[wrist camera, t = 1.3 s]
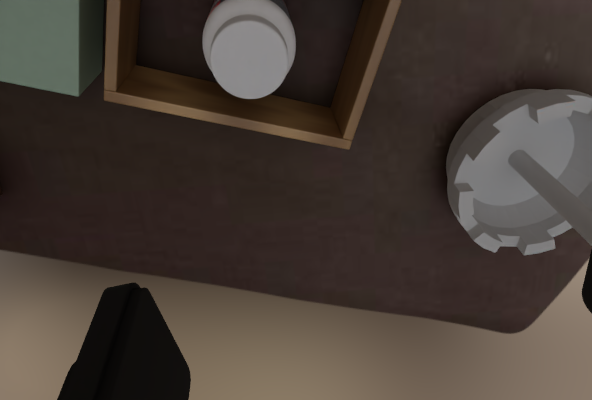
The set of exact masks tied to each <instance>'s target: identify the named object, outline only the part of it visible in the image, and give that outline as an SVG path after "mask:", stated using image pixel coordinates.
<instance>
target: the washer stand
mask: <svg viewBox="0 0 592 400" xmlns="http://www.w3.org/2000/svg"><path fill="white" fill-rule="evenodd" d="M103 17H104V0H0V81H3V82H8V83H13V84H18V85H23V86H28V87H33V88H38V89H43V90H48V91H53V92H58V93H63V94H68V95H73V96H80V95H81V93H82V92H83V91H84V90H85V89H86V88H87V87H88V86H89V85H90V84H91V83H92V81H93V80H94V79H95V78H96V77H97V76H98V75H99V74H100V73H101V72H102V52H103Z"/></svg>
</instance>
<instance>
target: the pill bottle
mask: <svg viewBox="0 0 592 400" xmlns="http://www.w3.org/2000/svg"><path fill="white" fill-rule="evenodd" d="M202 45H203V52H204V56H205V60H206V62H207V64H208V66H209V68H210V70H211V71H212V73H213V75H214V77H215V79H216V80H217V82H218V83H219V84H220V86H221V87H222V88H223V89H224V90H226V91H227V92H229V93H230V94H232V95H234V96H236V97H240V98H244V99H257V98H262V97H265V96H267V95H269V94H271V93H272V92H274V91H275V90H276V89H277V88H278V87H279V86H280V85H281V83H282V82H283V80H284V78H285V76H286V75H287V73H288V72H289V70H290V68H291V66H292V64H293V61H294V57H295V52H296V39H295V32H294V28H293V25H292V22H291V19H290V16H289V12H288V9H287V6H286V4H285V2H284V1H283V0H215V1H214V3H213V5H212V7H211V10H210V13H209V16H208V18H207V20H206V23H205V26H204V30H203V36H202Z"/></svg>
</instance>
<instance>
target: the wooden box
mask: <svg viewBox="0 0 592 400" xmlns="http://www.w3.org/2000/svg"><path fill="white" fill-rule="evenodd" d="M401 1H402V0H364V1H363V4H362V7H361V11H360V14H359V17H358V20H357V23H356V27H355V30H354V33H353V36H352V39H351V43H350V46H349V49H348V52H347V55H346V59H345V62H344V65H343V68H342V72H341V75H340V78H339V81H338V84H337V88H336V91H335V94H334V97H333V100H332V104H331V108H329V107H325V106H320V105H316V104H311V103H306V102H302V101H297V100H293V99H288V98H284V97H279V96H275V95H270V94H269V95H267V96H265V97H262V98H257V99H244V98H240V97H236V96H234V95H232V94H230V93H229V92H227V91H226V90H224V89H223V88H222V87H221V86H220V84H219V83H215V82H211V81H206V80H202V79H197V78H193V77H188V76H183V75H179V74H174V73H170V72H165V71H161V70H156V69H152V68H147V67H142V66H138V65H136V61H137V46H138V32H139V17H140V3H141V0H107V12H106V43H105V73H104V89H105V90H104V100H105V101H109V102H114V103H119V104H124V105H129V106H134V107H139V108H144V109H149V110H154V111H159V112H164V113H168V114H173V115H178V116H183V117H188V118H193V119H198V120H203V121H208V122H213V123H218V124H223V125H228V126H233V127H238V128H243V129H248V130H253V131H258V132H263V133H268V134H273V135H278V136H283V137H288V138H293V139H298V140H303V141H308V142H313V143H318V144H323V145H328V146H333V147H338V148H343V149H348V150H349V149H350V146H351V143H352V140H353V137H354V134H355V132H356V129H357V126H358V123H359V120H360V117H361V115H362V112H363V109H364V106H365V103H366V100H367V98H368V95H369V92H370V89H371V86H372V83H373V81H374V78H375V75H376V72H377V69H378V66H379V64H380V61H381V58H382V55H383V52H384V50H385V47H386V44H387V41H388V38H389V35H390V33H391V30H392V27H393V24H394V21H395V18H396V16H397V13H398V10H399V7H400V4H401Z"/></svg>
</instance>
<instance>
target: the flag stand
mask: <svg viewBox="0 0 592 400" xmlns="http://www.w3.org/2000/svg"><path fill="white" fill-rule="evenodd" d="M446 172H447V178H448V184H447V193H448V200H449V204H450V206H451V209H452V211H453V213H454V215H455V216H456V218H457V219H458V221H459V222H460V224H461V225H462V226H463V227H464V229H465V230H466V231H467V232H468V234H469V235H470V237H471V238H472V240H473V241H474V242H476V243H477V244H479V245H480V246H481V247H483V248H485V249H487V250H490V251H492V252H496V251H497V250H498V249H499V247H500V246H517V247H518V249H519V250H520V251H521V252H522V254H523V255H529V254H536V253H541V252H545V251H548V250H552V249H555V243H554V239H553V238H552V237H555V236H557V235H559V234H562V233H564V232H565V231H567V230H569V229H570V228H572V227H573V228H574V229H575V230H576V231H577V232H578V233H579V234H580V235H581V236H582V237H583V238H584V239H585V240H586V241H587V242H588V243H589V244H590V245H591V246H592V96H590V95H588V94H585V93H582V92H578V91H575V90H565V89H552V90H542V89H524V90H517V91H513V92H510V93H507V94H504V95H501V96H499V97H497V98H495V99H493V100H491V101H489V102H487V103H486V104H485V105H483V106H482V107H481V108H479V109H478V110H476V111H475V112H474V113H473V114H472V115H471V116H470V117H469V118H468V119H467V120H466V121H465V122H464V123H463V125H462V126H461V127H460V129H459V130H458V132H457V133H456V135H455V137H454V139H453V141H452V143H451V145H450V148H449V151H448V155H447V161H446Z"/></svg>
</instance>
